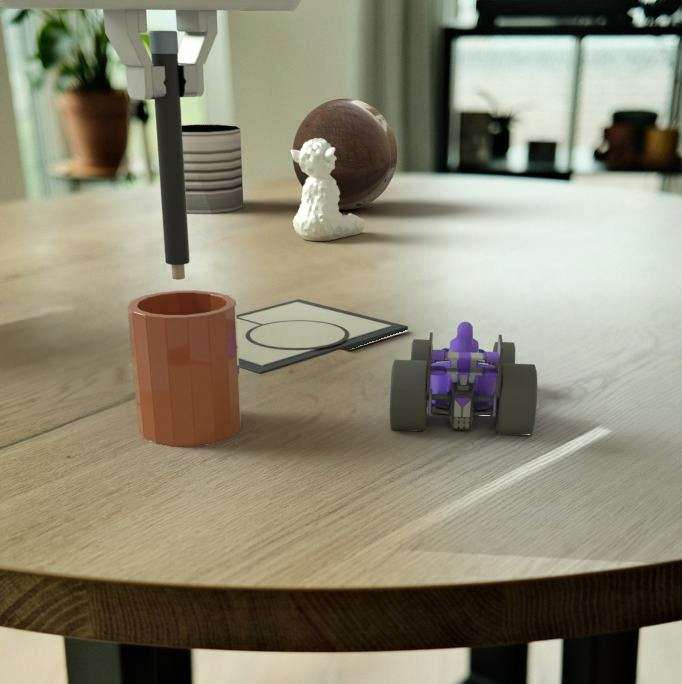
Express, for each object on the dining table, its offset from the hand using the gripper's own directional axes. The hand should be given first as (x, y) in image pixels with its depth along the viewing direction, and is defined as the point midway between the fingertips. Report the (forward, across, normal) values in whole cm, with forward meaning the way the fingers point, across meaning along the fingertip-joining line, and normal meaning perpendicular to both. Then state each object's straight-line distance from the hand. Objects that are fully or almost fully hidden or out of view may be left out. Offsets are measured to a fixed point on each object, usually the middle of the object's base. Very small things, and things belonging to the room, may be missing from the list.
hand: (166, 98), depth 60 cm
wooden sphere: (+22, -72, -53) cm, 92 cm away
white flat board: (+21, -20, -12) cm, 32 cm away
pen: (+11, 0, 0) cm, 11 cm away
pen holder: (+21, 0, 0) cm, 21 cm away
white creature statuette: (+22, -55, -41) cm, 72 cm away
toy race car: (+21, -17, +10) cm, 29 cm away
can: (+22, -59, -69) cm, 93 cm away
